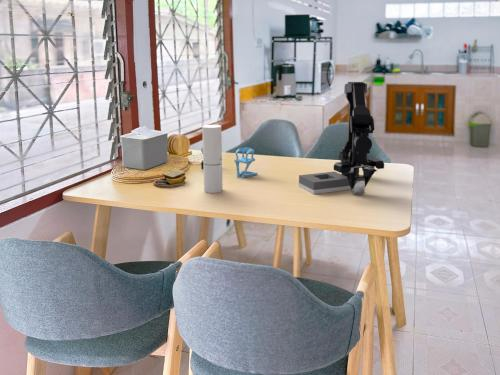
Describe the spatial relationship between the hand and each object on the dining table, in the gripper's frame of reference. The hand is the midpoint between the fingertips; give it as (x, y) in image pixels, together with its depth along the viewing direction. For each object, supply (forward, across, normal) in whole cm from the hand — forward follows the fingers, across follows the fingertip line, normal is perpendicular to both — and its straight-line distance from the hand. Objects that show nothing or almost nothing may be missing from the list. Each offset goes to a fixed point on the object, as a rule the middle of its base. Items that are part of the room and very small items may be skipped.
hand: (358, 188), depth 205 cm
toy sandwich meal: (+3, +61, -44) cm, 75 cm away
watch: (+3, +38, -64) cm, 74 cm away
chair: (+3, +28, -44) cm, 52 cm away
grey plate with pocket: (+2, +7, -13) cm, 15 cm away
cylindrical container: (+3, +48, -27) cm, 55 cm away
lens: (+2, 0, 0) cm, 2 cm away
